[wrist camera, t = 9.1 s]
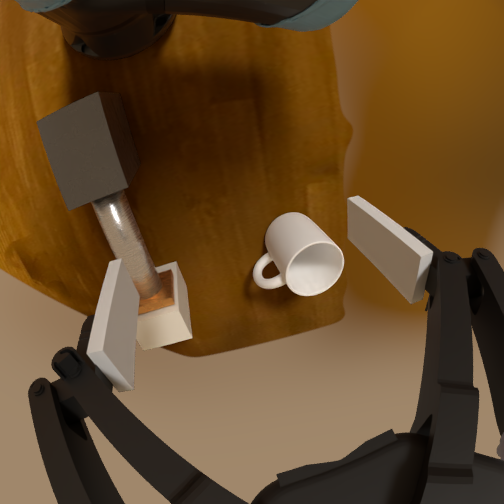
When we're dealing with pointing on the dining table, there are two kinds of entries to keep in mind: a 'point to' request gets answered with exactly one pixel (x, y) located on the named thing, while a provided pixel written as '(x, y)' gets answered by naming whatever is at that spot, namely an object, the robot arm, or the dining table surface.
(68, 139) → the sleeve
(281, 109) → the dining table surface
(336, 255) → the mug
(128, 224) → the tube
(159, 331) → the socket block
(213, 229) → the dining table surface
